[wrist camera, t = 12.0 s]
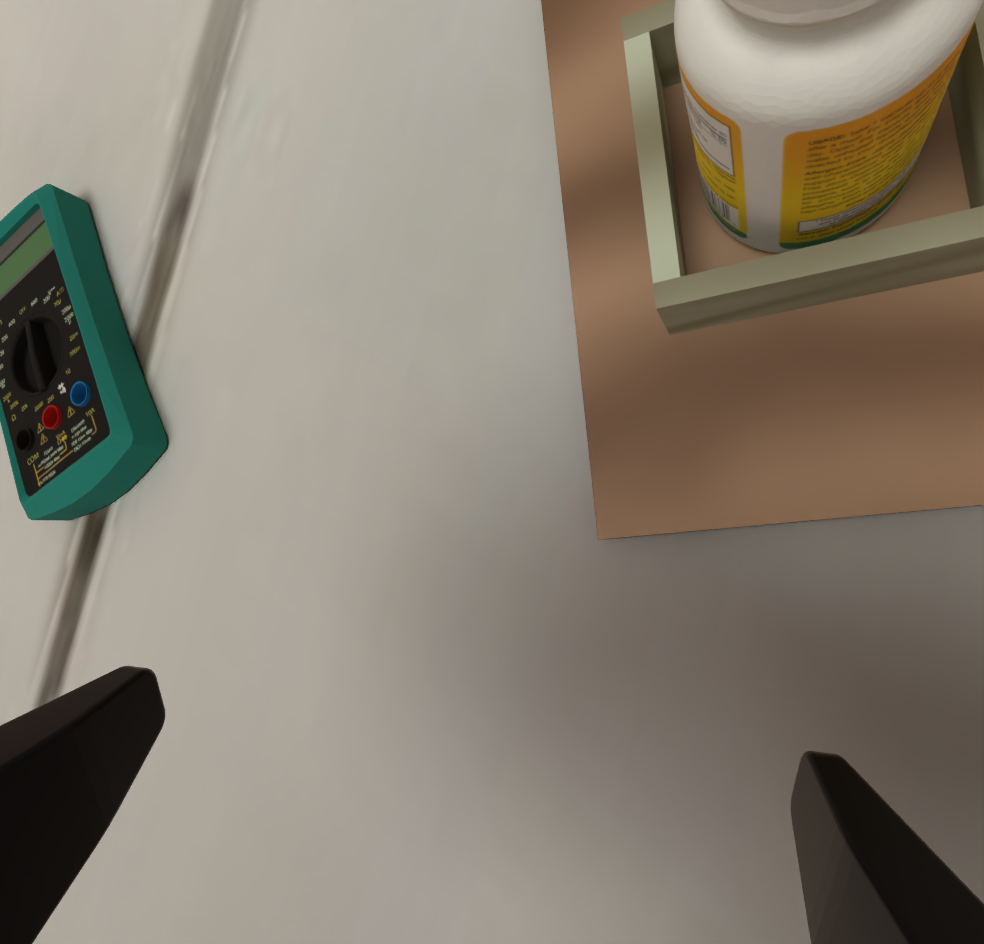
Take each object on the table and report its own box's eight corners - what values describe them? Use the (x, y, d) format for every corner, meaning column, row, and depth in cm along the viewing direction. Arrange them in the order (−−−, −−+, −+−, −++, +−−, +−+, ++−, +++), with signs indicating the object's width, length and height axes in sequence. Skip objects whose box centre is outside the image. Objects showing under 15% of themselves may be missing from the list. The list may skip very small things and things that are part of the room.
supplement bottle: (673, 232, 20) (592, -8, 11) (750, 57, 19) (732, -342, 10) (862, 284, 18) (953, 38, 9) (955, 89, 17) (1150, -378, 8)
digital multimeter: (79, 534, 31) (14, 534, 28) (7, 282, 35) (-57, 261, 32) (185, 459, 29) (125, 451, 26) (96, 199, 33) (35, 169, 30)
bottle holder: (1193, 486, 15) (1304, 474, 12) (605, 538, 21) (575, 540, 17) (1033, -244, 18) (1089, -414, 15) (545, -29, 23) (508, -118, 20)
